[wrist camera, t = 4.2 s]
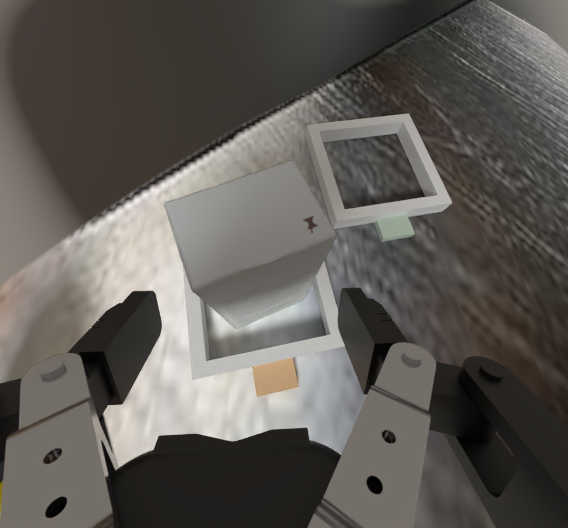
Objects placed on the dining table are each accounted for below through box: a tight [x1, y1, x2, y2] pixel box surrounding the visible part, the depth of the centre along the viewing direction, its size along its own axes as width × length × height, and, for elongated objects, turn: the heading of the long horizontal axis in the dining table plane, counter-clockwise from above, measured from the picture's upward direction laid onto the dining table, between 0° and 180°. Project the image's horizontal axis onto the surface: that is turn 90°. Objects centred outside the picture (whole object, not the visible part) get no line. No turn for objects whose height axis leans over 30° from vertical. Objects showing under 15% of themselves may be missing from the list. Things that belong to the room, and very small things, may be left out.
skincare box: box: [164, 160, 337, 329], centre depth 16 cm, size 6×4×12 cm
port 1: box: [183, 262, 345, 396], centre depth 21 cm, size 11×13×2 cm
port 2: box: [305, 114, 452, 242], centre depth 25 cm, size 11×13×2 cm
